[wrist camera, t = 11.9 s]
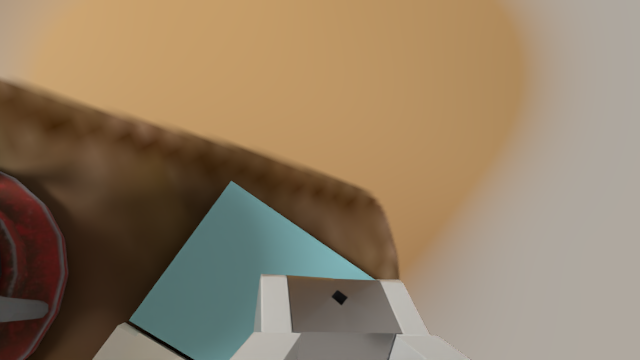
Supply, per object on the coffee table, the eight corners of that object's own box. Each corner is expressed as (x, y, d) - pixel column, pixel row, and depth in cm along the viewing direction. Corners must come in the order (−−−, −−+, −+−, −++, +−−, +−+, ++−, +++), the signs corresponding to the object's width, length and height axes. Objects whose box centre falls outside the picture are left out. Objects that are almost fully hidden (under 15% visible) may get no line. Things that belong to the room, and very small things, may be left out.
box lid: (326, 438, 29) (394, 292, 34) (128, 320, 27) (231, 180, 31) (317, 429, 31) (382, 292, 36) (131, 318, 29) (227, 186, 33)
